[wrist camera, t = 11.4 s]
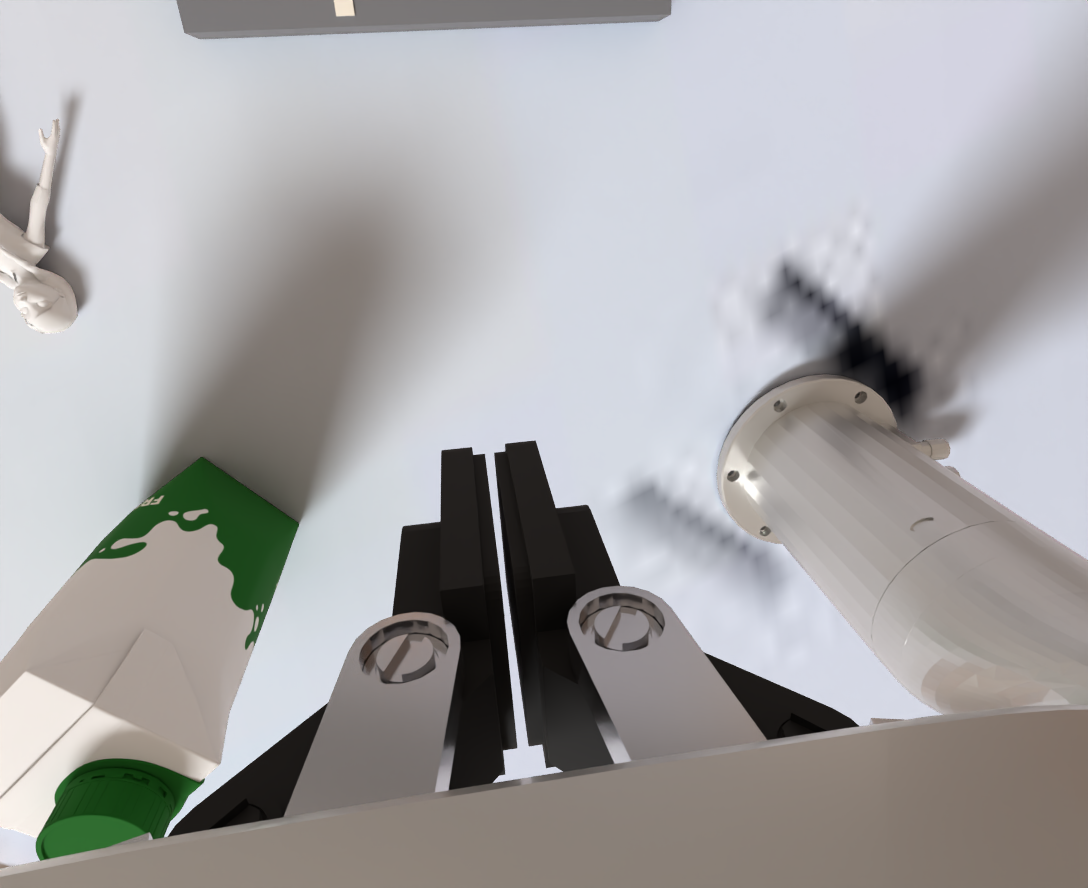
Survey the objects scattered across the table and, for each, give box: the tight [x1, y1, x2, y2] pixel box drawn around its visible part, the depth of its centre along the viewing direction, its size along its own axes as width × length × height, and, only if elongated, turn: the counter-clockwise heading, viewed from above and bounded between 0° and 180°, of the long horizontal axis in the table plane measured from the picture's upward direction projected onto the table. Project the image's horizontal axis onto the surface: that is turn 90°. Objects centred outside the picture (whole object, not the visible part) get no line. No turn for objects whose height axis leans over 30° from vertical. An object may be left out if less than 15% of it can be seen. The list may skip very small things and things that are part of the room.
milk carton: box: [0, 457, 299, 861], centre depth 32 cm, size 9×9×20 cm
